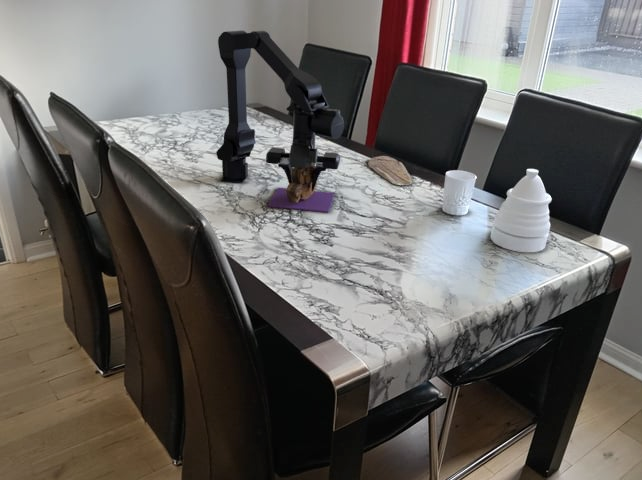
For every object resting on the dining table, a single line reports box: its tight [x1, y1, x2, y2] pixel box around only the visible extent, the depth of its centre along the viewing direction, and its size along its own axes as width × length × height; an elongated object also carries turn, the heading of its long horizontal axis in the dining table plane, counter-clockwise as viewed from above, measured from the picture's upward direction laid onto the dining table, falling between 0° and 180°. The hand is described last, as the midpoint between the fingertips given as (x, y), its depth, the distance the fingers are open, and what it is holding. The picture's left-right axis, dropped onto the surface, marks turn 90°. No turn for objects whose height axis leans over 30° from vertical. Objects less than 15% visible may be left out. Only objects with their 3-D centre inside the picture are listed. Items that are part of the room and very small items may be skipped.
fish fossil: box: [367, 155, 413, 186], centre depth 181 cm, size 26×10×1 cm, turn 18°
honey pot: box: [490, 168, 553, 253], centre depth 135 cm, size 13×13×18 cm
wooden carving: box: [286, 163, 318, 203], centre depth 153 cm, size 16×5×10 cm, turn 161°
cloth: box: [267, 187, 335, 214], centre depth 156 cm, size 16×14×1 cm
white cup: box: [441, 169, 477, 216], centre depth 152 cm, size 8×8×10 cm
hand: (302, 189), depth 154 cm, fingers closed on wooden carving, 5 cm apart
